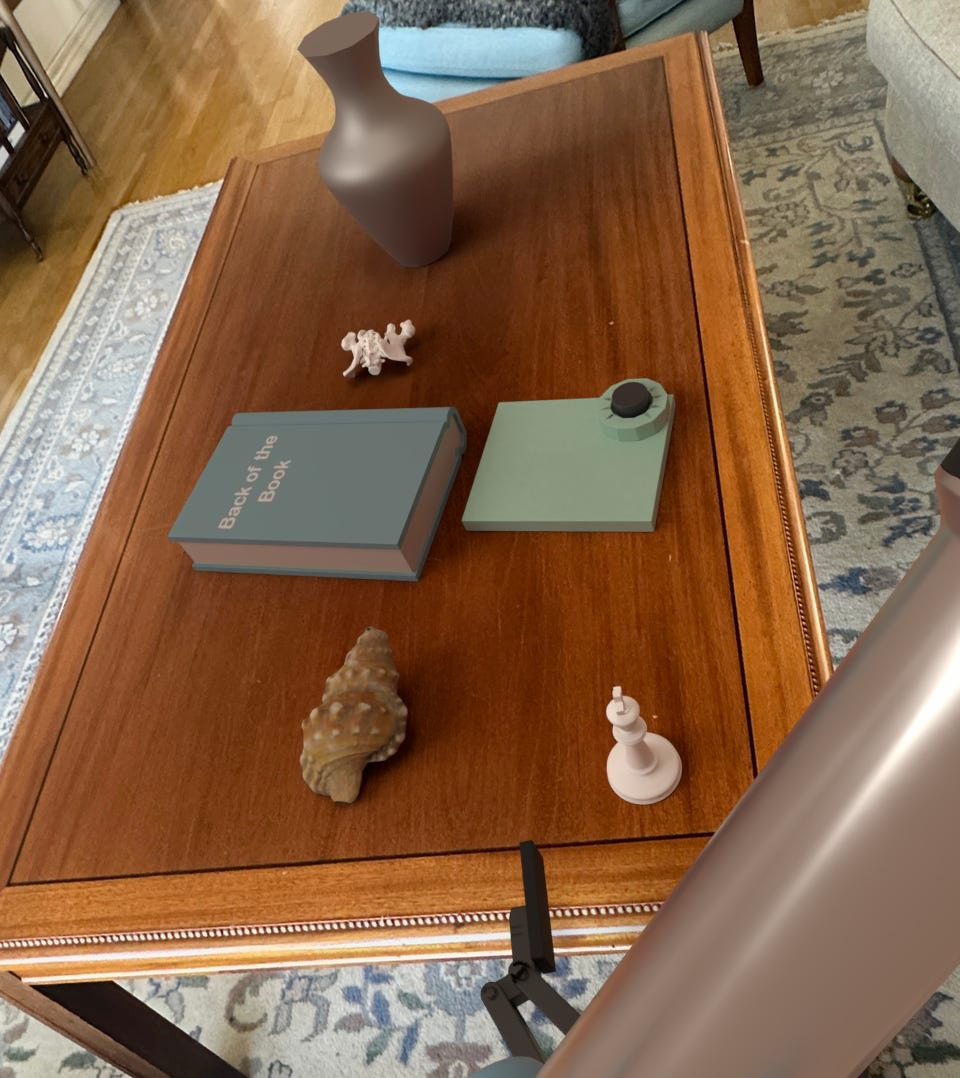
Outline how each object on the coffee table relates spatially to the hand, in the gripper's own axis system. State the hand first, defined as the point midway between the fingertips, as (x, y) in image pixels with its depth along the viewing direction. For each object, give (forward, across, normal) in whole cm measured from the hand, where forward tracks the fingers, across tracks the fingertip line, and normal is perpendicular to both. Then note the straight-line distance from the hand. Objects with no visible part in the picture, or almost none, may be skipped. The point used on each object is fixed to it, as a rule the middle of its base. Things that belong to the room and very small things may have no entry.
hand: (646, 827), depth 56 cm
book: (+38, -23, -6) cm, 45 cm away
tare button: (+38, +5, -3) cm, 39 cm away
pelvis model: (+57, -18, -6) cm, 60 cm away
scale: (+35, -1, -6) cm, 36 cm away
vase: (+75, -13, -6) cm, 77 cm away
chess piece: (+7, 0, -6) cm, 9 cm away
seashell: (+14, -20, -6) cm, 25 cm away
